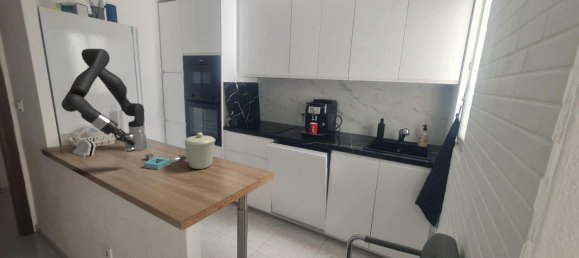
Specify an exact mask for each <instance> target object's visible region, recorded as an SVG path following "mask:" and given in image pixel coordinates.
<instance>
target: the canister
mask: <svg viewBox="0 0 579 258" xmlns="http://www.w3.org/2000/svg"><path fill="white" fill-rule="evenodd" d="M215 142H216V138H215V137H213V136H210V135H205V134H203V132H197V133H196V135H193V136H189V137H186V138H185V139H183V144H184V146H185V154H186V158H187V159H186V160H187V163H188V166H189V167H190V168H192V169H194V170H195V169H197V170H202V169H207V168H209V167H211V166H212V164H213V160H214V151H215V150H214V149H215Z"/></svg>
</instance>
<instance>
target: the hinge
mask: <svg viewBox="0 0 579 258" xmlns="http://www.w3.org/2000/svg"><path fill="white" fill-rule="evenodd" d="M95 151H96V144H95V143H94V141H90V140H86V139H85V140H82V139H81V140H79V141H78V142H77V145H76V148H75V149H74V150H73V151H72V153H73V154H74V155H77V156H80V157H82V158H86V156H92V157H94V156H95ZM93 155H94V156H93Z"/></svg>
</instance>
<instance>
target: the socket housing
mask: <svg viewBox="0 0 579 258" xmlns="http://www.w3.org/2000/svg"><path fill="white" fill-rule="evenodd" d="M153 158H154V159H151V160H146V161H144V162H143V168H146V169H152V170H158V171H159V170H160V169H162V168H165V167H167V166H169V165H171V164H172V163H170V159H171V158H164V157H157V156H156V157H153Z"/></svg>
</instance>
